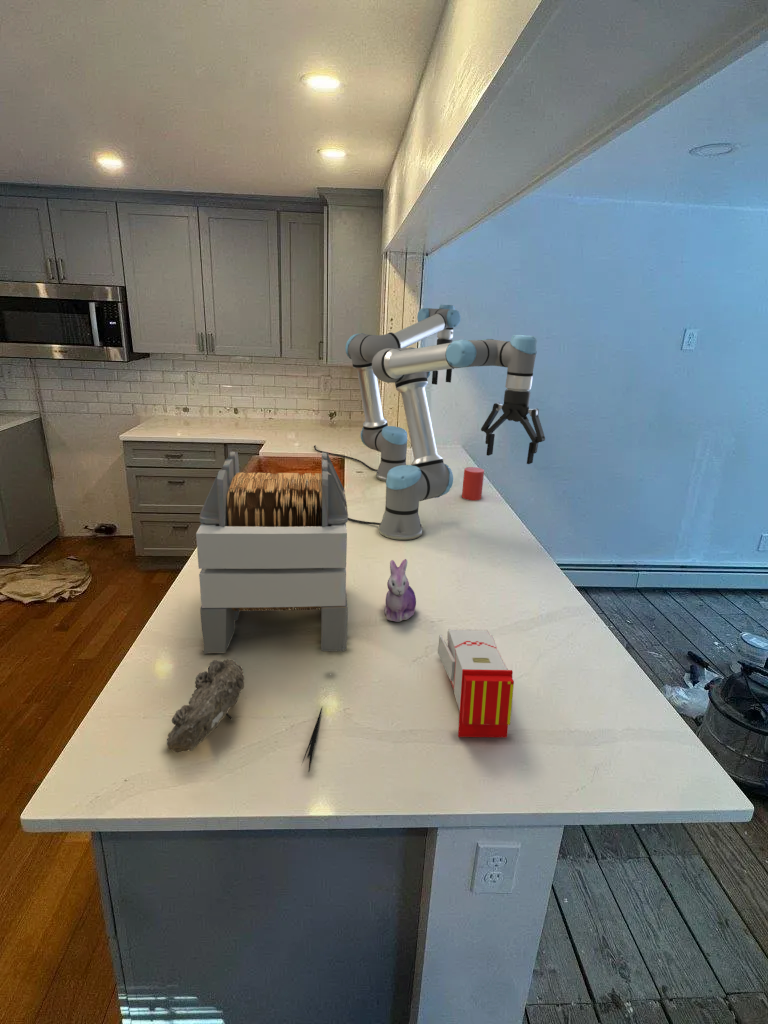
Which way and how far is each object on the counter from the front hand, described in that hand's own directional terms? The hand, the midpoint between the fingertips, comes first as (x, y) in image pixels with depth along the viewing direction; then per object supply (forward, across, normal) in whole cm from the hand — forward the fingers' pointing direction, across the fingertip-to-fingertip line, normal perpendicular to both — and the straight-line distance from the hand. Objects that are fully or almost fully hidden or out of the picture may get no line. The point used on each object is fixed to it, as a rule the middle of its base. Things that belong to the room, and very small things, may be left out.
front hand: (509, 459), depth 176 cm
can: (+33, +36, -47) cm, 68 cm away
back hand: (-8, +79, -85) cm, 116 cm away
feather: (+32, -11, +96) cm, 101 cm away
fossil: (+32, +5, +108) cm, 113 cm away
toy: (+32, -29, +69) cm, 82 cm away
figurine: (+32, +1, +53) cm, 62 cm away
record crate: (+32, +23, +74) cm, 84 cm away
